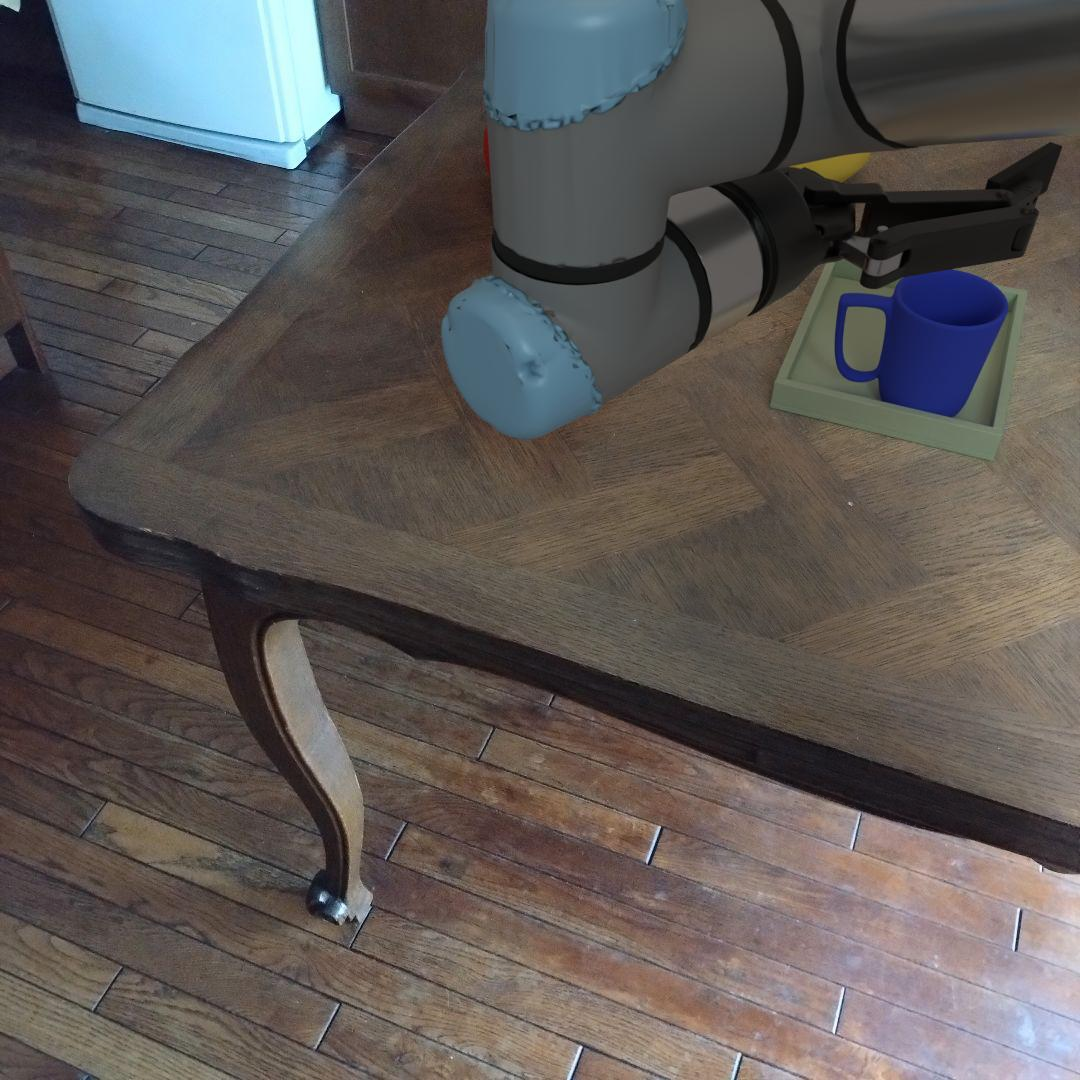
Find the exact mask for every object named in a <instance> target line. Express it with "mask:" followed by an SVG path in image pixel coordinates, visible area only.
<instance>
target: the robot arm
mask: <svg viewBox="0 0 1080 1080" xmlns="http://www.w3.org/2000/svg"><path fill="white" fill-rule="evenodd" d="M482 82H483V83H482V87H483V93H482V94H483V95H482V96H483V97H482V98H483V99H482V100H483V105H484V108H485V115H486V125H487V130H488V143H489V159H490V175H491V179H490V187H491V188H490V190H491V191H490V192H491V204H492V221H493V222H492V233H491V239H490V257H491V273H490V274H489V275H487V276H483V277H479V278H478V279H477V278H475V279H474V280H473V281H472V283H471V285H470V286H468V287H467V288H465V289H464V290H462V291H460V292H459V293H457V294H456V295H455V296H454V297H453V298H452V299H451V300H450V301H449V303H448V306H447V311H446V313H445V315H444V317H443V318H442V320H441V325H440V337H441V338H440V339H441V347H442V353H443V357H444V359H445V363H446V365H447V369H448V371H449V374H450V376H451V378H452V381H453V382H454V385H455V386H456V388H457V390H458V391H459V393H460V395H461V397H462V398H463V400H464V401H465V403H466V404H467V405H468V406H469V408H470V409H471V410H472V411H473V413H475V414H476V415H477V416H478V417H479V418H480V419H481V420H482V421H483V422H485V423H488V424H489V425H491V426H492V427H493V428H494V430H495V431H496V432H498V433H500V434H502V435H505V436H507V437H509V438H513V439H515V440H526V441H527V440H534V439H538V438H541V437H543V436H546V435H548V434H549V433H552V432H554V431H556V430H558V429H560V428H562V427H565V426H566V425H569V424H571V423H573V422H575V421H577V420H579V419H581V418H583V417H586V416H592V415H594V414H596V413H598V411H599V410H600V409H601V407H602V406H603V405H605V404H607V403H608V402H610V401H611V400H613V399H615V398H616V397H618V396H620V395H622V394H623V393H624V392H626V391H628V390H629V389H632V388H633V387H634V386H636V385H637V384H640V383H641V382H643V381H645V380H646V379H648V378H650V376H652V375H654V374H656V373H657V372H660V371H661V370H662V369H664V368H666V367H667V366H670V364H672V363H674V362H675V361H677V360H679V359H680V358H682V357H683V356H685V355H687V354H689V353H690V352H691V351H694V350H696V349H697V348H699V347H700V346H702V345H703V344H706V343H707V342H709V341H710V340H712V339H714V338H716V337H717V336H719V335H721V334H722V333H724V332H727V330H730V329H731V328H732V327H734V326H735V325H736V326H737V325H738V324H739V323H741V322H742V321H743V320H745V319H746V318H748V317H751V316H753V315H755V314H757V313H759V312H761V311H762V310H764V309H765V308H767V307H768V306H771V305H772V304H774V303H775V302H777V301H779V300H781V299H783V298H784V297H786V296H787V295H789V294H790V293H792V292H794V291H795V290H796V289H797V288H798V287H799V286H800V285H801V284H802V283H804V281H805V280H806V278H807V277H809V275H810V274H811V273H812V272H813V271H814V270H815V269H816V268H817V267H818V266H820V265H825V264H826V263H831V262H837V261H840V260H842V259H845V260H847V261H849V262H850V263H852V264H854V265H856V266H857V267H859V268H861V269H862V274H861V278H860V284H861V285H862V286H863V287H865V288H868V289H879V288H882V287H884V286H886V285H888V284H890V283H892V282H894V281H896V280H898V279H901V278H903V277H909V276H915V275H921V274H927V273H933V272H939V271H945V270H950V269H952V270H957V269H961V268H967V267H968V268H969V267H973V266H974V267H975V266H979V265H985V264H991V263H998V262H1003V261H1009V260H1015V259H1020V258H1022V257H1024V256H1025V254H1026V251H1027V248H1028V245H1029V243H1030V239H1031V238H1032V235H1033V232H1034V228H1035V226H1036V224H1037V220H1038V218H1039V216H1040V215H1039V214H1040V211H1039V210H1038V208H1036V205H1037V202H1038V200H1039V197H1040V196H1041V195H1043V194H1045V193H1046V192H1047V191H1048V188H1049V185H1050V183H1051V180H1052V177H1053V175H1054V172H1055V169H1056V167H1057V163H1058V160H1059V159H1060V155H1061V153H1062V149H1063V145H1061V144H1058V143H1055V142H1052V141H1049V142H1047V143H1046V144H1044V145H1043V146H1041V147H1039V148H1037V149H1036V150H1034V151H1033V152H1031V153H1029V154H1028V155H1026V156H1024V157H1023V158H1021V159H1019V160H1017V161H1016V162H1013V163H1012V164H1011V165H1009V166H1008V167H1006V168H1004V169H1003V170H1001V171H999V172H997V173H996V174H994V175H992V176H991V177H989V178H988V179H987V181H986V185H985V188H984V189H983V188H979V189H975V188H974V189H941V190H940V189H938V190H935V189H934V190H892V191H891V190H890V191H887V190H884V188H883V186H882V185H881V184H880V183H879V182H859V183H855V182H853V183H844V182H843V183H841V182H839V181H835V180H831V179H827V178H824V177H823V176H821V175H820V174H818V173H817V172H815V171H813V170H811V169H808V168H806V167H803V168H801V169H800V168H794V167H789V166H794V165H799V164H804V163H808V162H813V161H818V160H823V159H828V158H833V157H838V156H843V155H849V154H856V153H868V152H871V153H880V152H893V151H902V150H911V149H919V148H924V147H929V146H930V147H931V146H943V145H956V144H958V145H959V144H969V143H970V144H972V143H984V142H985V143H986V142H997V141H1011V140H1012V141H1014V140H1029V139H1042V138H1055V137H1069V136H1080V0H487V7H486V24H485V28H484V79H483V81H482ZM857 204H864V207H863V212H862V215H861V221H860V224H859V228H858V230H857V229H856V228H857V227H856V222H857V221H856V218H857V215H856V214H857V213H856V211H857V209H856V208H857V207H856V205H857Z"/></svg>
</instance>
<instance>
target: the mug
mask: <svg viewBox="0 0 1080 1080" xmlns="http://www.w3.org/2000/svg"><path fill="white" fill-rule="evenodd" d="M993 284H994V283H992V281H991V282H990V280H987V279H985V278H983V277H981V276H979V275H976V274H974V273H970V272H967V271H962V270H957V269H950V270H945V271H939V272H933V273H927V274H921V275H915V276H909V277H903V278H902V279H901V280H900V281H899V282H898V284H897V285H896V287H895V290H894V293H893V295H892V296H891V297H886V296H881V295H875V294H866V293H845V294H842V295H841V296H840V299H839V304H838V311H837V319H836V328H835V342H834V350H835V360H836V365H837V368H838V370H839V372H840V374H841V375H842V376H843V377H844V378H846V379H847V380H850V381H853V382H869V381H872V380H874V379H876V378H878V382H879V393H880V397H881V400H882V402H887V403H891V404H895V405H900V406H904V407H908V408H912V409H917V410H921V411H925V412H930V413H934V414H938V415H942V416H947V417H951V418H952V417H954V416H955V415H957V414H958V413H959V412H960V411H961V409H962V408H963V407H964V405H965V404H966V402H967V400H968V398H969V396H970V394H971V392H972V389H973V387H974V385H975V383H976V381H977V379H978V376H979V374H980V372H981V370H982V368H983V366H984V363H985V361H986V359H987V357H988V355H989V353H990V350H991V348H992V346H993V344H994V342H995V340H996V337H997V335H998V333H999V331H1000V329H1001V327H1002V324H1003V322H1004V320H1005V318H1006V316H1007V313H1008V301H1007V299H1006V297H1005V295H1004V294H1003V293H1002V292H1001V290H1000V289H998V288H997V287H996V286H995V285H993ZM848 307H870V308H876V309H880V310H882V311H883V312H884V313H885V317H886V325H885V334H884V340H883V346H882V351H881V356H880V360H879V364H878V366H877V368H876V369H875V370H872V371H858V370H855V369H853V368H851V367H850V366H849V365H848V364H847V363H846V361H845V359H844V354H843V334H844V325H845V318H846V311H847V308H848Z"/></svg>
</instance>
